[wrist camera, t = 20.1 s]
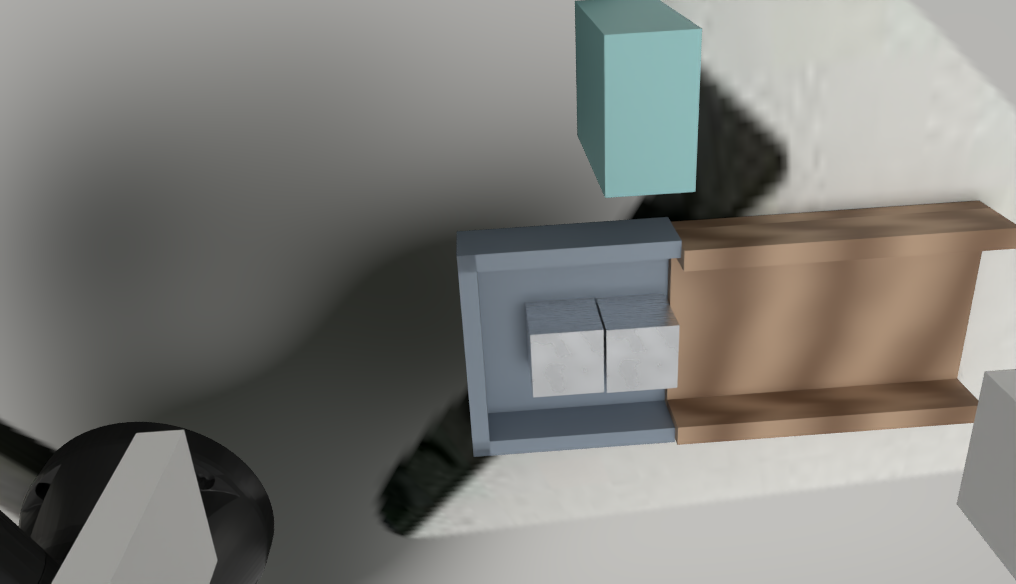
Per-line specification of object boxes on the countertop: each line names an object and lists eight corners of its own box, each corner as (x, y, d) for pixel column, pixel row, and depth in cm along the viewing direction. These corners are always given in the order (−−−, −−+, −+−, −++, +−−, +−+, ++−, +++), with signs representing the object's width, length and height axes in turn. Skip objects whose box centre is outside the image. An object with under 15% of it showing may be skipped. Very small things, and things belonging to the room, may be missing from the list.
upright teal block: (577, 135, 48) (605, 197, 39) (574, 1, 45) (604, 34, 36) (650, 130, 48) (695, 191, 39) (653, -4, 45) (702, 28, 36)
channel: (662, 405, 56) (677, 444, 52) (667, 221, 50) (684, 250, 47) (944, 384, 56) (979, 422, 53) (979, 200, 51) (1020, 227, 47)
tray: (473, 423, 56) (473, 456, 53) (456, 231, 50) (456, 256, 47) (662, 409, 56) (674, 441, 53) (667, 216, 50) (681, 240, 47)
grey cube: (528, 361, 53) (533, 397, 50) (525, 302, 52) (530, 335, 48) (594, 356, 54) (603, 392, 50) (593, 297, 52) (603, 329, 48)
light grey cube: (596, 357, 54) (606, 393, 50) (596, 298, 52) (606, 330, 48) (662, 352, 54) (677, 387, 50) (664, 293, 52) (679, 325, 48)
